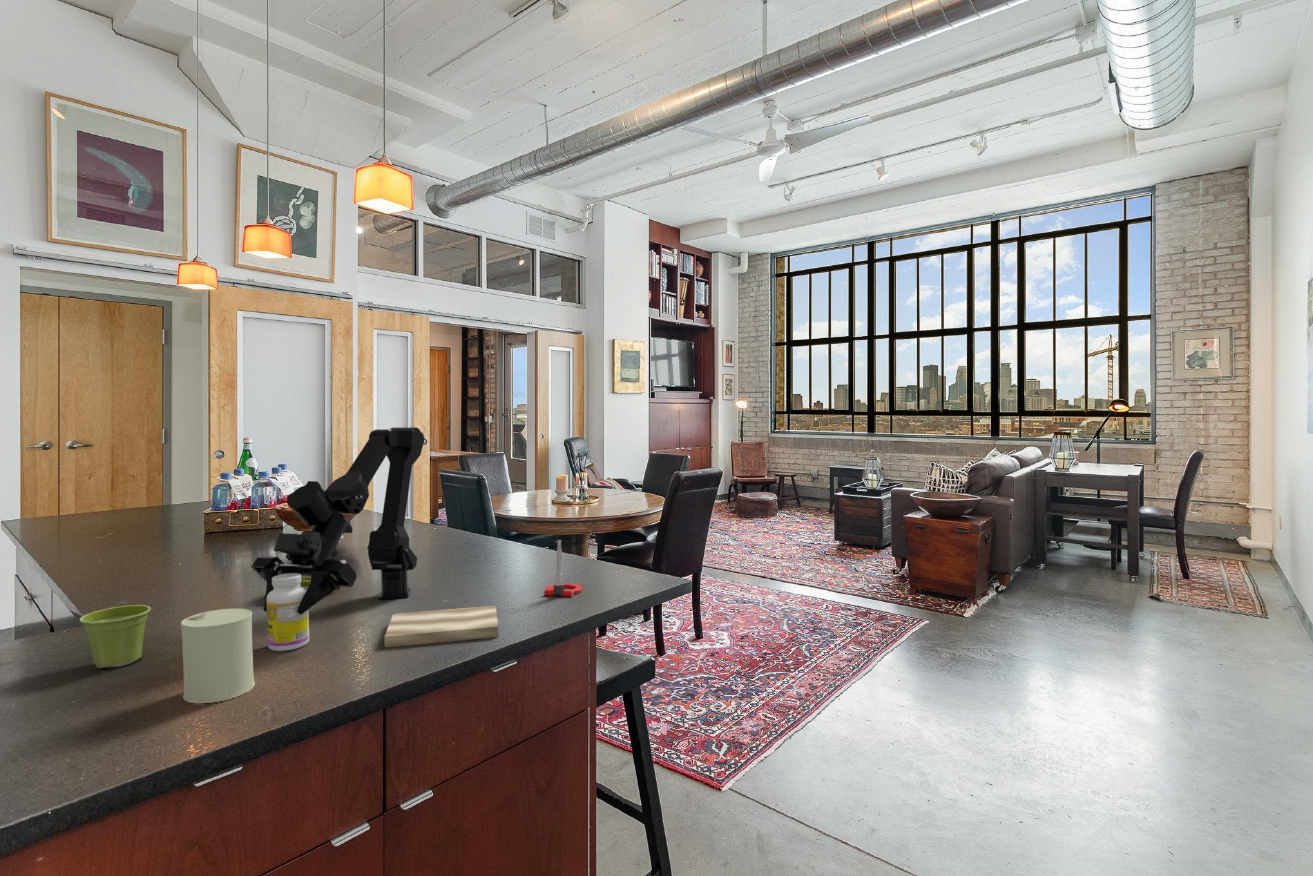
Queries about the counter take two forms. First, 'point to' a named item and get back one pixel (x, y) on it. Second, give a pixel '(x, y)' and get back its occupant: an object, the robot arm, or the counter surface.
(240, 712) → the counter surface
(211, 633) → the can
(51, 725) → the counter surface
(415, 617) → the birch board
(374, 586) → the counter surface
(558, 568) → the tow hook
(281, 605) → the supplement bottle
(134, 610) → the plant pot
